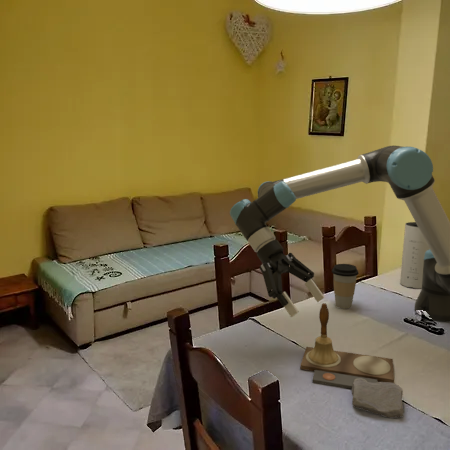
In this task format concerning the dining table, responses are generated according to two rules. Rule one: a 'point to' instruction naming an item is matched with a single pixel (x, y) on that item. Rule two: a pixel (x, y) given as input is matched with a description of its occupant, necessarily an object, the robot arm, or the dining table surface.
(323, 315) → the hand bell
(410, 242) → the white tall cylinder
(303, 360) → the board
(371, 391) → the stone block
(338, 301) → the coffee cup
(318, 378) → the pattern card
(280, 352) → the dining table surface
